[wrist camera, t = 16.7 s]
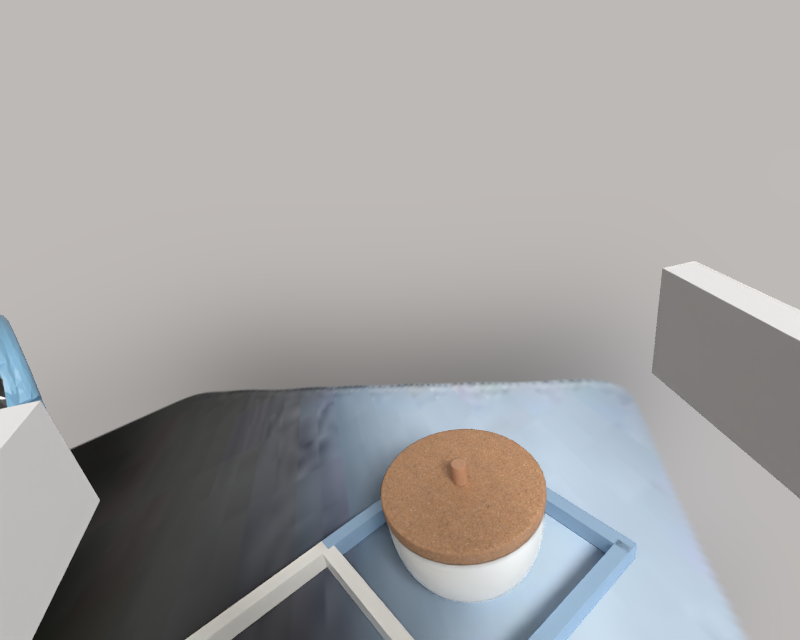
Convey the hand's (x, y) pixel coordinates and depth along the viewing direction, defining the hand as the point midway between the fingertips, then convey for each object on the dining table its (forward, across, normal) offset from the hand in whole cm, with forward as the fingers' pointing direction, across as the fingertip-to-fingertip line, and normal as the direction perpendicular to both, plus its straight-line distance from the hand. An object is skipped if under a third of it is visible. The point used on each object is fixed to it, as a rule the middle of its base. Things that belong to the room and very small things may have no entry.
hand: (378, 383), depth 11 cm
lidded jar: (+14, +4, -26) cm, 30 cm away
